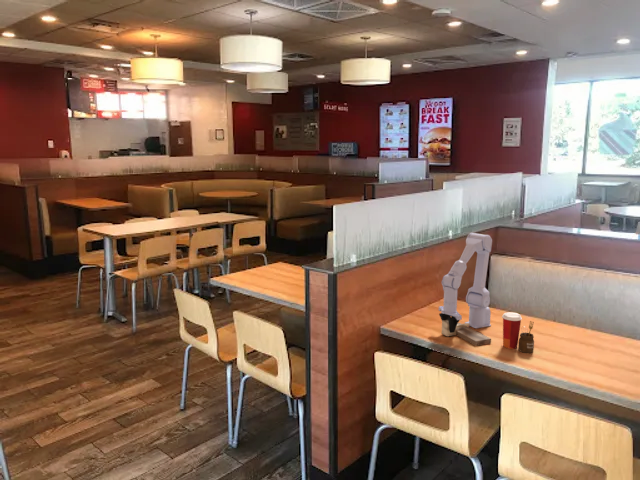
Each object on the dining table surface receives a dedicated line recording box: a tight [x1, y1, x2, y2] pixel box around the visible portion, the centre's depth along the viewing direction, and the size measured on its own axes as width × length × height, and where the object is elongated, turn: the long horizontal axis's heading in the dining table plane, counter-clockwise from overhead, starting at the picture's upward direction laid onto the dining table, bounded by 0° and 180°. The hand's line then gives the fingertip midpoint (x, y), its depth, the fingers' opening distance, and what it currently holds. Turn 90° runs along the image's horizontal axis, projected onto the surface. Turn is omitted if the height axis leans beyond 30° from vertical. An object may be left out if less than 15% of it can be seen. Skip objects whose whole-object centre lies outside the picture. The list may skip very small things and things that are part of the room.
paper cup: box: [501, 311, 523, 350], centre depth 214 cm, size 8×8×14 cm
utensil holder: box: [517, 320, 535, 354], centre depth 210 cm, size 6×6×12 cm
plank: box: [455, 322, 492, 346], centre depth 228 cm, size 8×22×2 cm, turn 21°
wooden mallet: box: [441, 320, 471, 337], centre depth 230 cm, size 13×4×6 cm, turn 111°
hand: (449, 330), depth 229 cm, fingers closed on wooden mallet, 4 cm apart
